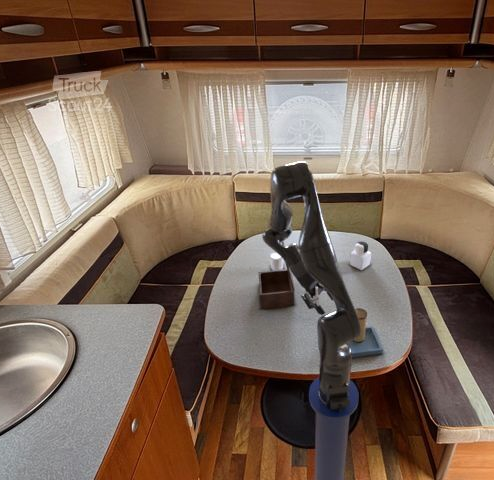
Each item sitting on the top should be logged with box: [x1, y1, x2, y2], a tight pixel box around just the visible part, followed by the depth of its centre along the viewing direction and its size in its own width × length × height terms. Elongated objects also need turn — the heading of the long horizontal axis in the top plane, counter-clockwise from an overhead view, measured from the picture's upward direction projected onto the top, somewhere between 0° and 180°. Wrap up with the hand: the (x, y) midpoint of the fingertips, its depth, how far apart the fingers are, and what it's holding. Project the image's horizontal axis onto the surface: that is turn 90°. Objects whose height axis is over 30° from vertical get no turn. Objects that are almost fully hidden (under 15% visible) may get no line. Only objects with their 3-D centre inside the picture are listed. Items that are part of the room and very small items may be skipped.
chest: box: [258, 268, 295, 310], centre depth 153 cm, size 14×16×7 cm
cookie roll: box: [353, 307, 368, 343], centre depth 129 cm, size 5×5×12 cm
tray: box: [347, 325, 384, 358], centre depth 130 cm, size 12×16×2 cm
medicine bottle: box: [349, 240, 372, 271], centre depth 170 cm, size 7×7×12 cm
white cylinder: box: [268, 251, 284, 271], centre depth 170 cm, size 7×7×7 cm
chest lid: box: [281, 240, 296, 292], centre depth 147 cm, size 15×16×1 cm
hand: (328, 306), depth 130 cm, fingers open, 8 cm apart
